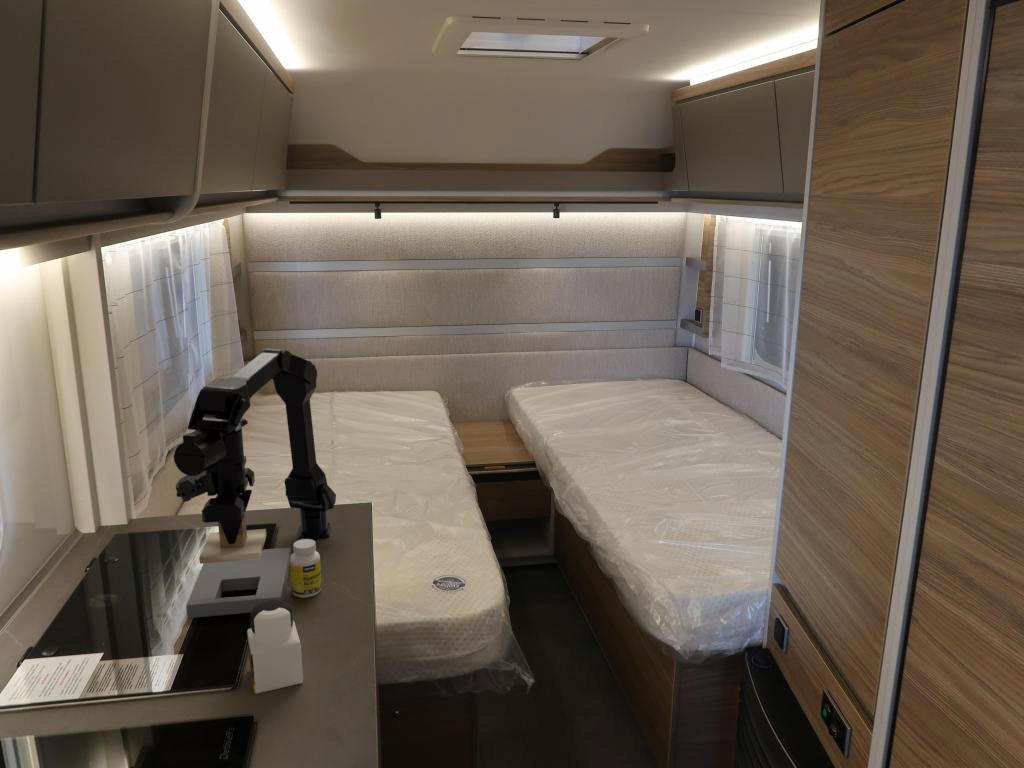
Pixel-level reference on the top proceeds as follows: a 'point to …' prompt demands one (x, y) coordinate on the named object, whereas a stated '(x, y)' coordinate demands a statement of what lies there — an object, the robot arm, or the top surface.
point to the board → (239, 584)
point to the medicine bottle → (274, 647)
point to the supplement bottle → (305, 569)
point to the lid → (233, 545)
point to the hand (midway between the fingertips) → (233, 538)
